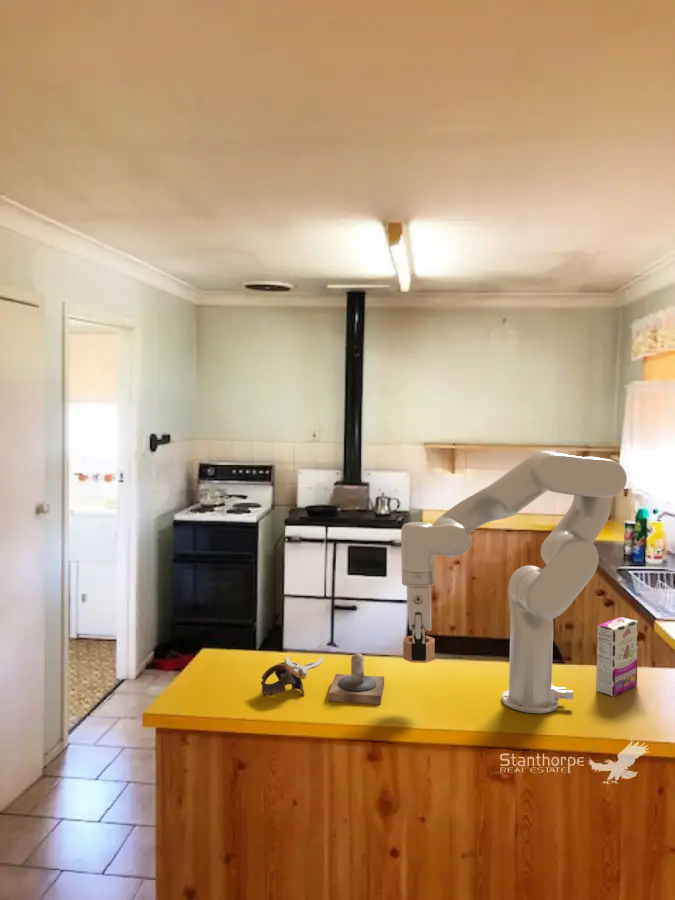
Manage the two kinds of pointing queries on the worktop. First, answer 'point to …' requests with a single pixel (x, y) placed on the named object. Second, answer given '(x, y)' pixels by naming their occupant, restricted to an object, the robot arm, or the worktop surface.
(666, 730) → the worktop surface
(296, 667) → the pliers
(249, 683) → the worktop surface
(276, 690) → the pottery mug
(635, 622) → the candy bar box
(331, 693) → the shaft block
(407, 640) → the ring
